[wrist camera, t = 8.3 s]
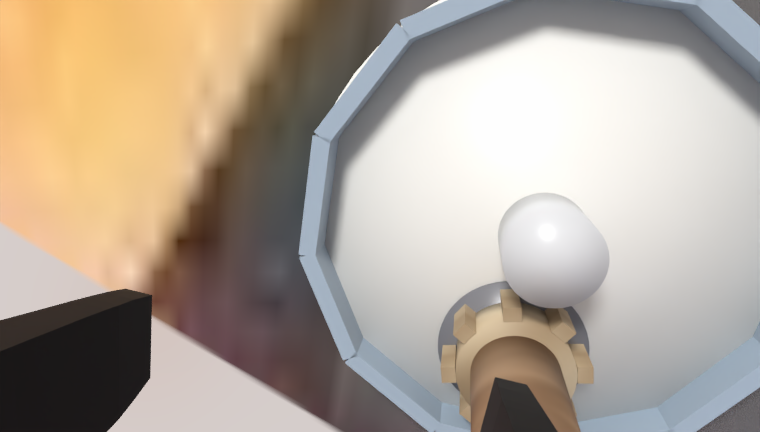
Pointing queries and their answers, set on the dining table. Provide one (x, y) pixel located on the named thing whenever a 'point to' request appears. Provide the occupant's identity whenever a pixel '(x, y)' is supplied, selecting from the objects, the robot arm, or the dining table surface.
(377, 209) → the carrier plate
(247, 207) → the dining table surface
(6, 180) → the dining table surface
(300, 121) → the dining table surface
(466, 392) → the gear
